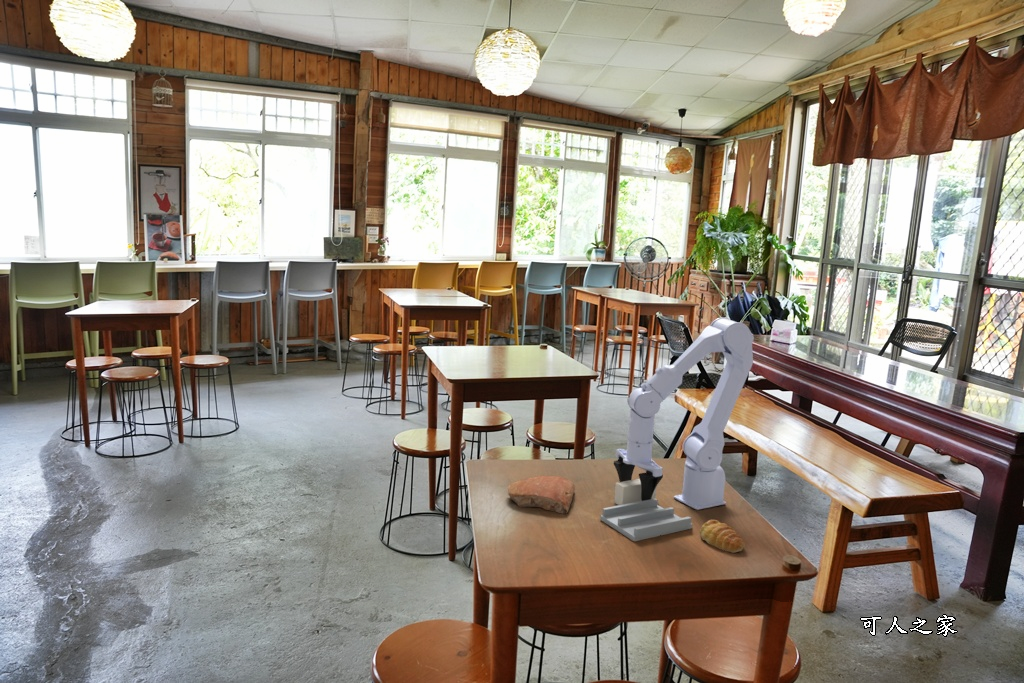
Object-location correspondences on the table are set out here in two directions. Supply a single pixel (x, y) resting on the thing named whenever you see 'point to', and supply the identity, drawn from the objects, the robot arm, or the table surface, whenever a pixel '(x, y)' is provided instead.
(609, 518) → the grey ridged tray
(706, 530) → the pastry
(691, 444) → the robot arm
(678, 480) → the table surface
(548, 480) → the ceramic shard
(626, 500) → the white rectangular block
